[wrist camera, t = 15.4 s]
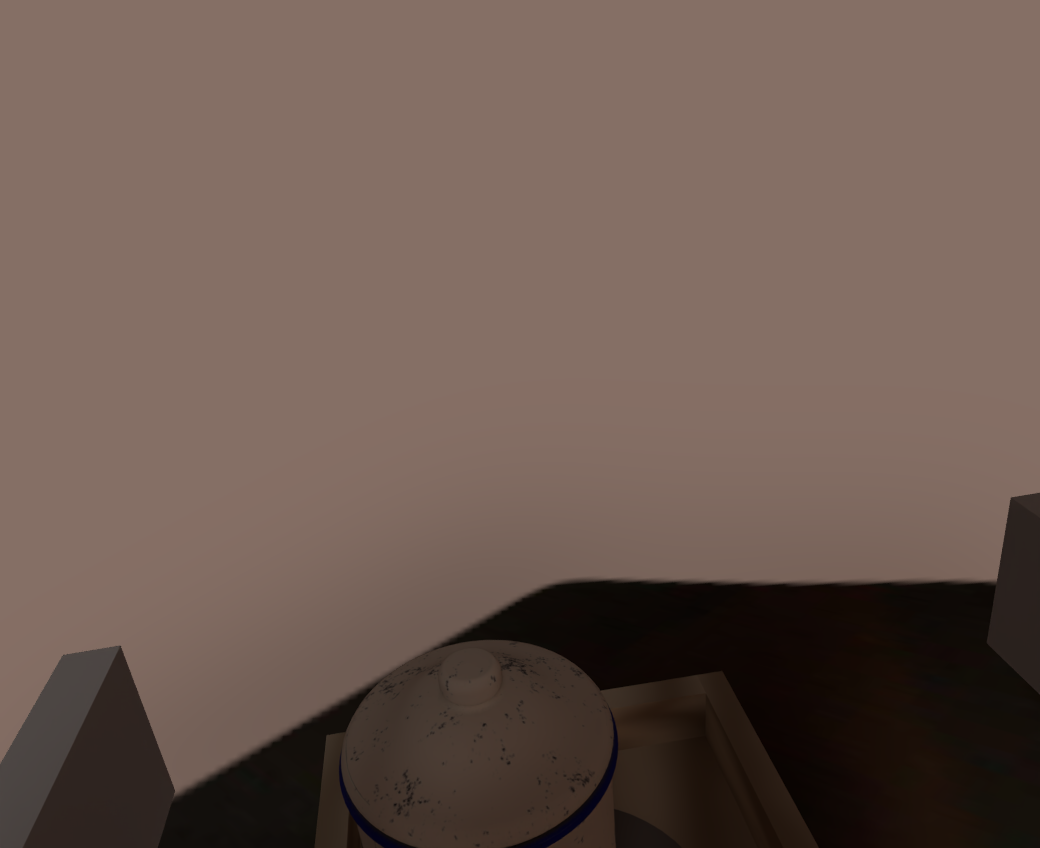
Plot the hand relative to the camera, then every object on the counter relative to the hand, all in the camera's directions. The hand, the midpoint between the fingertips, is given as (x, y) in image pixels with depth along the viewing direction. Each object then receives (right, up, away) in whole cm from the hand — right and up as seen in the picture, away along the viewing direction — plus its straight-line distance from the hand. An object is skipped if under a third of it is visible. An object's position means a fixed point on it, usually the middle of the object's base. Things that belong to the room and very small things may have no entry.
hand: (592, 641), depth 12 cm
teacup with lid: (-2, -16, +17) cm, 23 cm away
